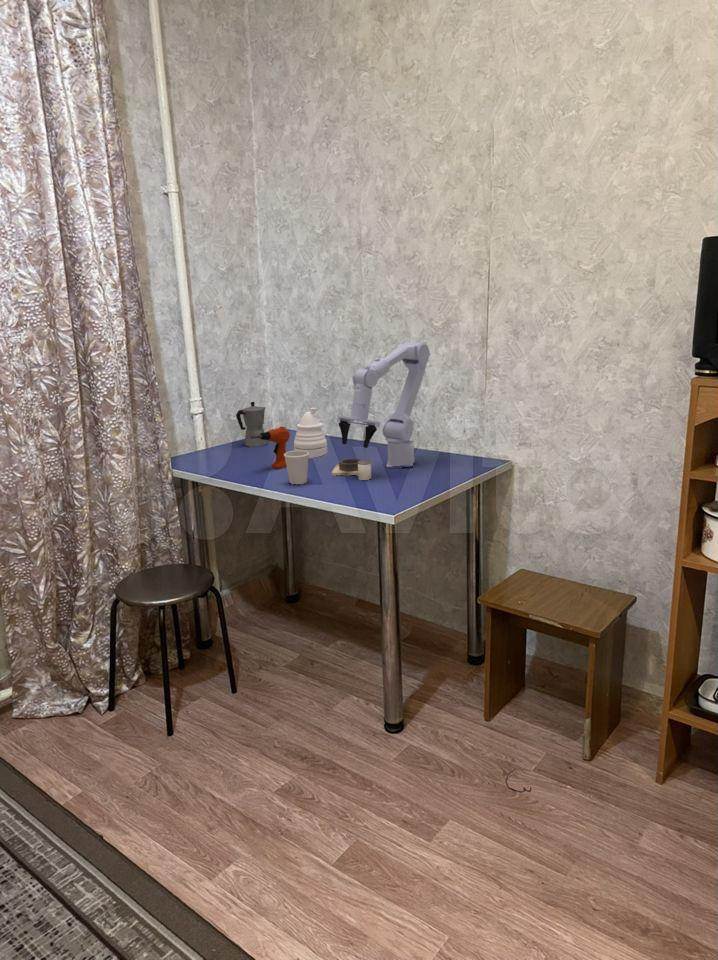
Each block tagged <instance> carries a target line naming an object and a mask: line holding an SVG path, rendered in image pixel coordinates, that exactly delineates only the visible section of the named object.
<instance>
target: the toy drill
mask: <svg viewBox="0 0 718 960" xmlns="http://www.w3.org/2000/svg"><path fill="white" fill-rule="evenodd" d="M290 436H291V433H290V431H289V430H288V429H286V428H285V427H284V426H279V427H278V428H277V427H276V428H272V429H269V430H267V431H264V433H261V434H260V435H256V436H251V437H250V438H251V439H253V438H260V439H262V440H266V441H269V442H273V443H275V447H274V450H273V453H274V454H275V461H274V462H273V463H272V464H271V466H270V467H271V469H275V470H279V469H285V468H287V466H286V461H285V456H284V454H285V453H286V452H287V451H286V449H287V448H286V443H287V442H288V441H289V439H290Z"/></svg>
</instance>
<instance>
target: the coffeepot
mask: <svg viewBox="0 0 718 960" xmlns="http://www.w3.org/2000/svg"><path fill="white" fill-rule="evenodd" d="M255 403H256V402H255V401H251V402H250V405H251V406H248V407H244V408H243V409H239V410H238V411H237V412H236V414H235V418H236V420H237V423H238V425H239V427H240V430H241V431H245V436H244V446H245V445H246V446H245V447H247V446H249V447H248V448H258V447H257V446H260V447H264V446H266V445H267V444H268V442H267V441H268V440H262V439H260V438H253V439H251V438H250V437H251V436H256V435H260V434H261V433H264V432H265V430H264V428H263V427H264V424H265V423H264V422H265V412H266V409H267V407H264V406H257V405H255ZM241 416H242V417H243V418H241ZM242 419H243V420H242ZM243 422H244V424H243ZM244 425H245V427H244ZM265 444H266V445H265ZM263 445H264V446H263Z"/></svg>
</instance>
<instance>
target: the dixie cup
mask: <svg viewBox="0 0 718 960" xmlns="http://www.w3.org/2000/svg"><path fill="white" fill-rule="evenodd" d="M308 455H309V452H307V451H301V450H297V451H294V450H290V451H286V453H285V454H284V456H285V461H286V466H287V467H286V471H287V476H288V480H289V481H288V482H289V484H290V483H291V484H290V485H293V484H296V485H295V486H297V484H300V485H304V483H305V484H306V483H307V482H308V467H309V458H308Z"/></svg>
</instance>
